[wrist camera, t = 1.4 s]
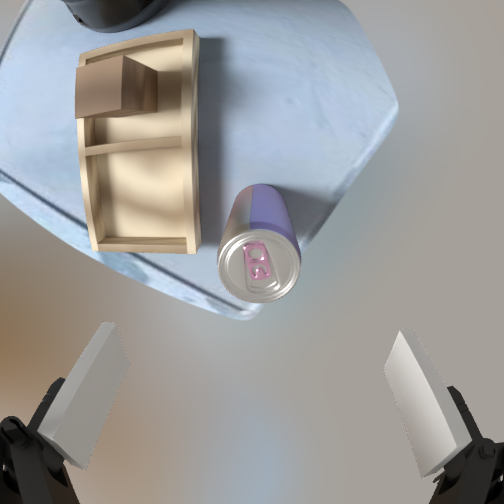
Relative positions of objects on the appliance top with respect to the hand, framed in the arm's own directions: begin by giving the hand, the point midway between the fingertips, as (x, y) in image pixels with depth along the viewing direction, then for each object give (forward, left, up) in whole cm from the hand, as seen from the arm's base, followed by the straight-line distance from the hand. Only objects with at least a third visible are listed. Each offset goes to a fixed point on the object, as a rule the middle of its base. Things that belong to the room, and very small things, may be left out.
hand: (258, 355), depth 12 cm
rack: (-8, -14, -23) cm, 28 cm away
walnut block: (-14, -14, -22) cm, 30 cm away
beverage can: (0, 0, -23) cm, 23 cm away
